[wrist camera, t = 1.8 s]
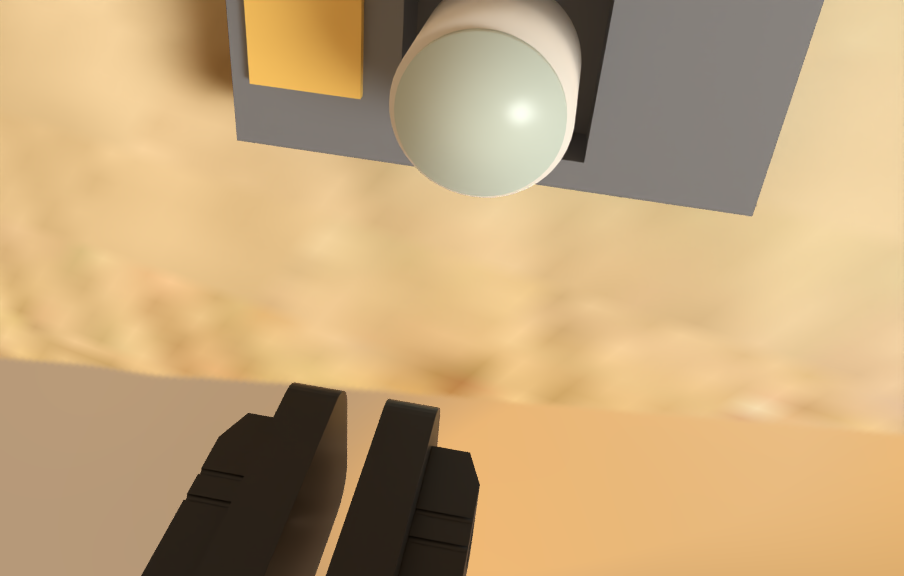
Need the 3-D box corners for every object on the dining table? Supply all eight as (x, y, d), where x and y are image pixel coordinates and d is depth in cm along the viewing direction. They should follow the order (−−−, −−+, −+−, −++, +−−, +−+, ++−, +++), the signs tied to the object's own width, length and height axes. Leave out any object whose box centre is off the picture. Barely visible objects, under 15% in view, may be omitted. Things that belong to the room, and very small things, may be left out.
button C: (595, -11, 23) (590, 37, 19) (567, 148, 25) (558, 214, 22) (423, -32, 23) (389, 11, 20) (415, 126, 26) (383, 188, 22)
